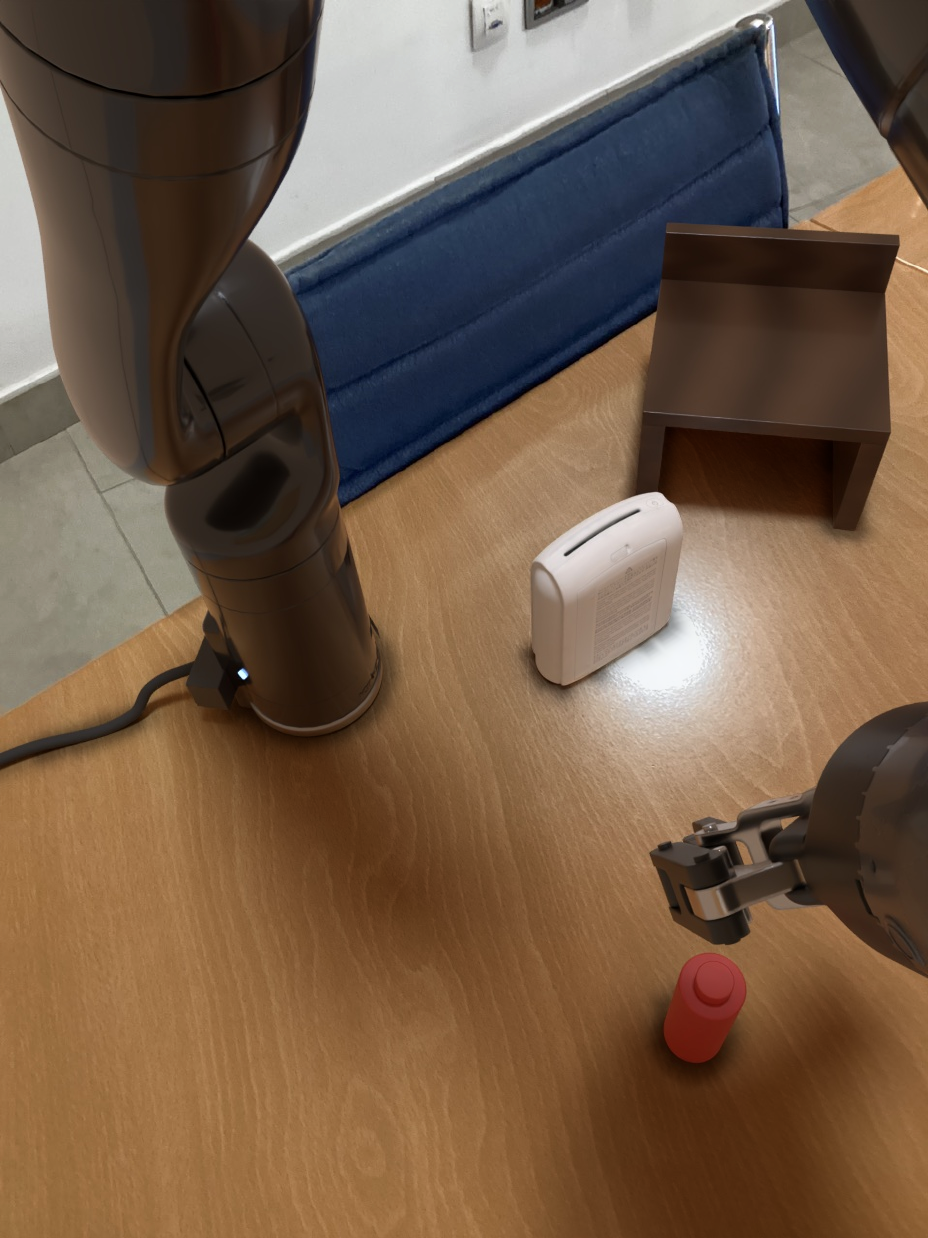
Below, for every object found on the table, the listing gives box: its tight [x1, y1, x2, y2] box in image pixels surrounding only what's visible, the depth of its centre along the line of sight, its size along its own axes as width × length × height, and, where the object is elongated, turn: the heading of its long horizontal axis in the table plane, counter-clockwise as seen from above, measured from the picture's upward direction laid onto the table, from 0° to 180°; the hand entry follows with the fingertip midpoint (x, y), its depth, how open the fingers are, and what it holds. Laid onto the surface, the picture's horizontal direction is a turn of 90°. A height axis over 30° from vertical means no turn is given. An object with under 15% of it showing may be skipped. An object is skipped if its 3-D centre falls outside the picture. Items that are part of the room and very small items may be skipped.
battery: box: [663, 952, 748, 1064], centre depth 54 cm, size 3×3×10 cm
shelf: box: [634, 222, 901, 531], centre depth 77 cm, size 16×15×14 cm
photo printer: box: [529, 491, 685, 686], centre depth 68 cm, size 10×4×12 cm, turn 123°
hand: (809, 809), depth 42 cm, fingers open, 8 cm apart
